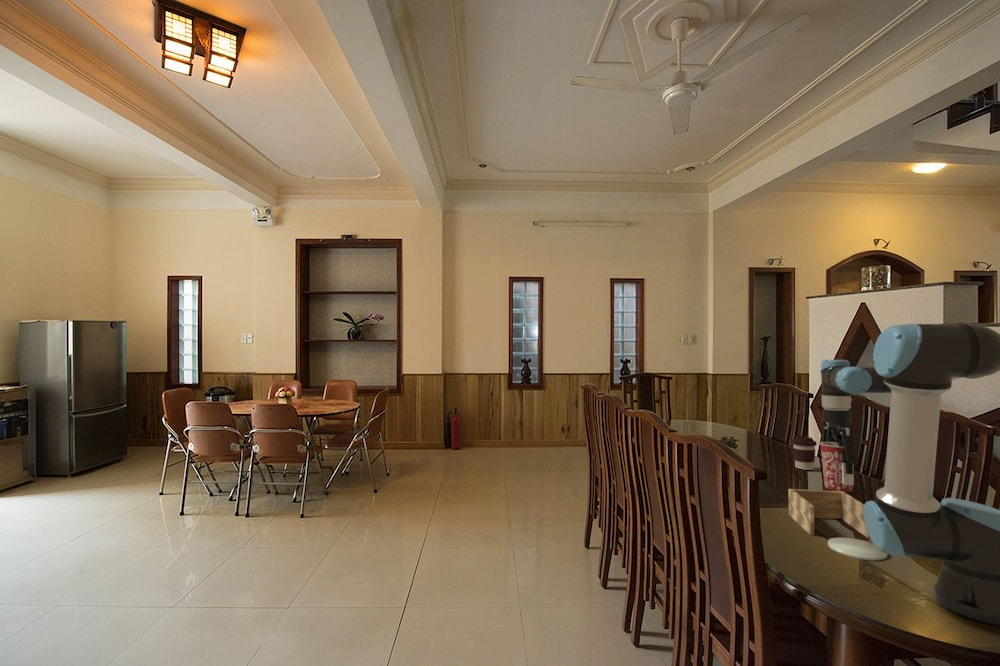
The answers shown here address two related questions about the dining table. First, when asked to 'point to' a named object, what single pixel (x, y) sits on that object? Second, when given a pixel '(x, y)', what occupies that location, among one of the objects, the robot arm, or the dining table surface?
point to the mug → (833, 466)
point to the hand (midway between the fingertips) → (838, 479)
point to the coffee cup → (804, 452)
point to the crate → (825, 508)
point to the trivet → (856, 549)
